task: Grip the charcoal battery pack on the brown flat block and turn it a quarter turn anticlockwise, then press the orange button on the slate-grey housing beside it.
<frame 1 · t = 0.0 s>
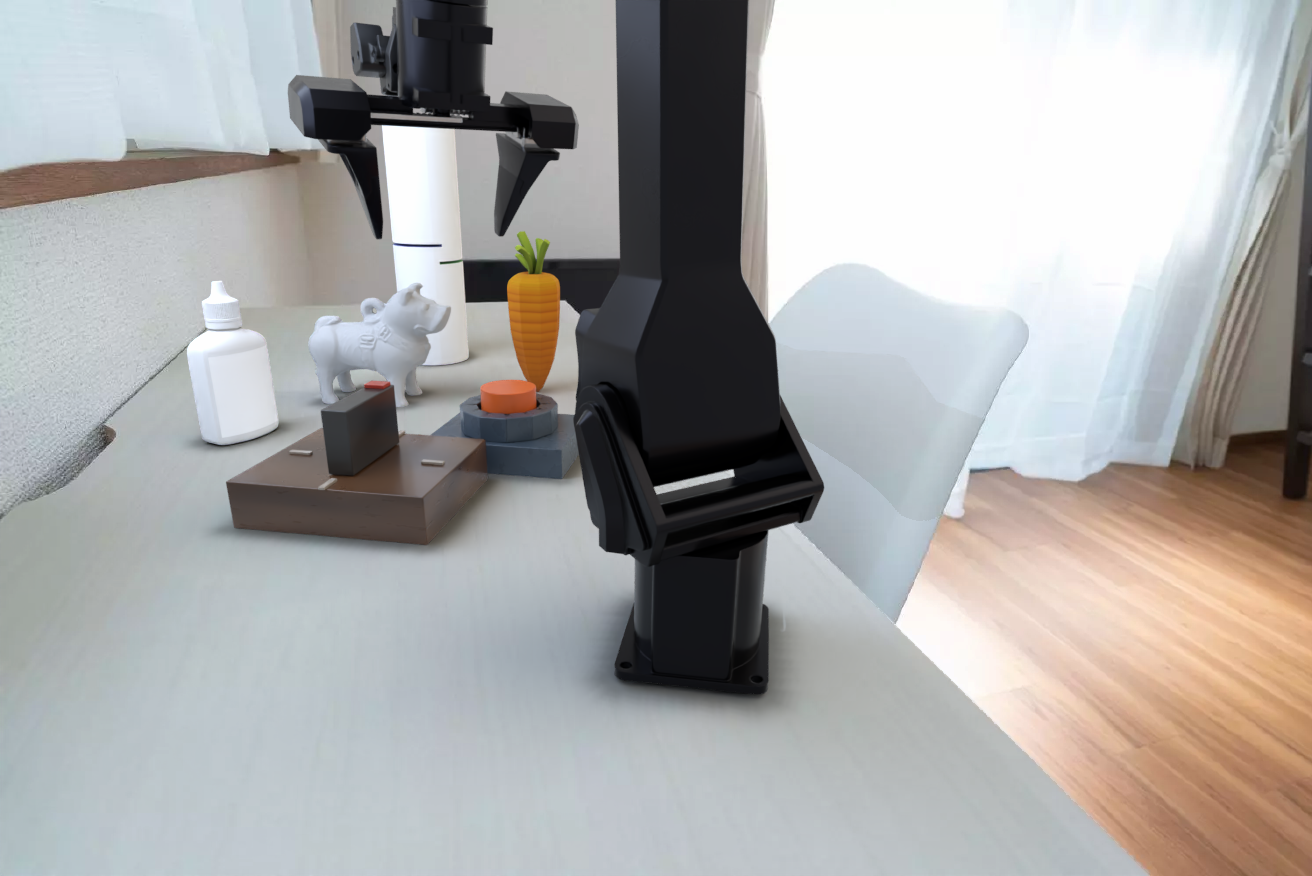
hand: (440, 236, 57), 15 cm above the table, tool pointing down, fingers open, 9 cm apart
button box: (511, 454, 57), on the table
cylindrical container: (436, 359, 86), on the table
dog figurine: (386, 399, 70), on the table
eye dropper bottle: (243, 437, 60), on the table
charcoal battery pack: (362, 425, 47), point 5 cm above the table, hinge at 0.0°
brown flat block: (371, 502, 49), on the table
start button: (508, 398, 56), point 4 cm above the table, slide at 0.1 cm
carrot: (537, 393, 73), on the table
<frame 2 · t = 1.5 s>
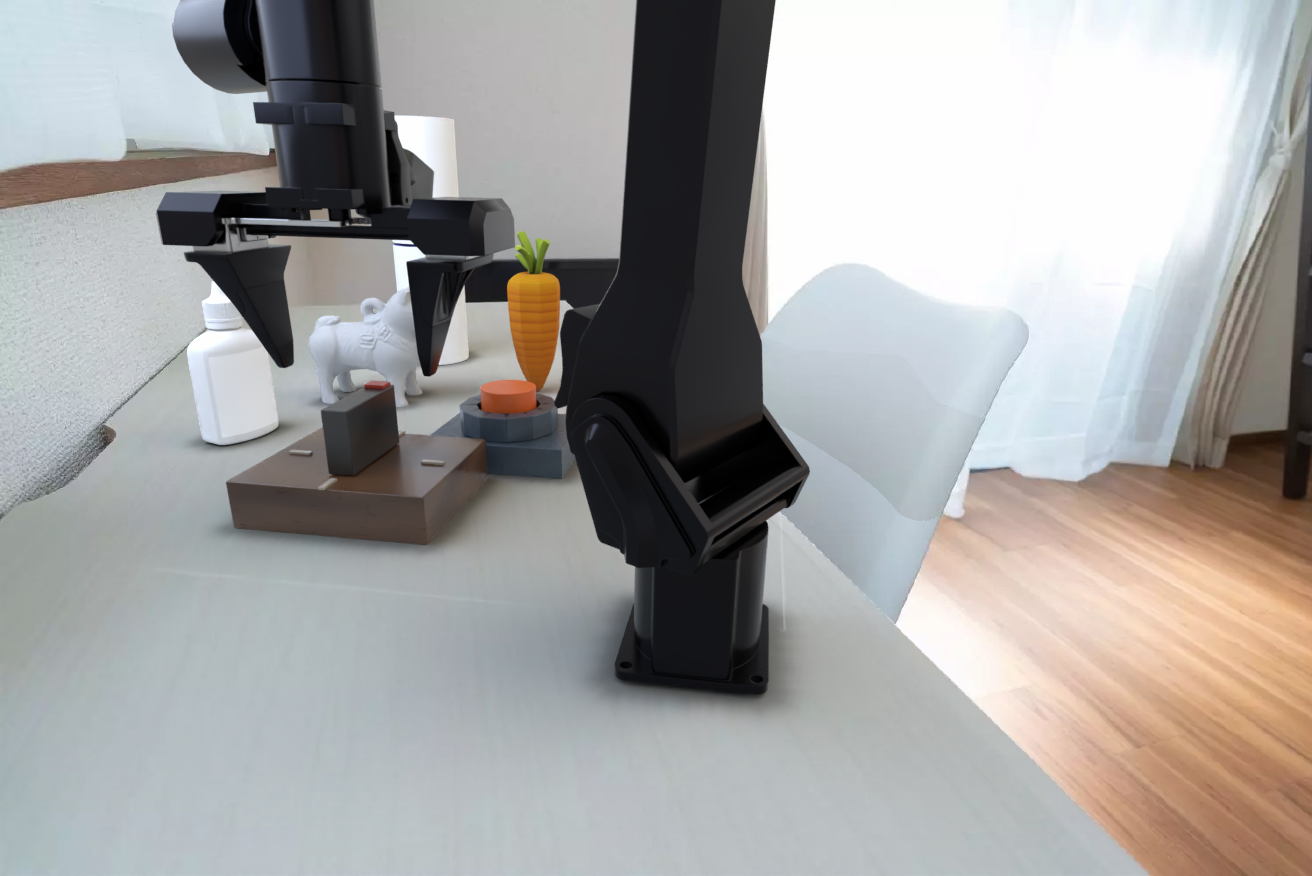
hand: (357, 370, 46), 9 cm above the table, tool pointing down, fingers open, 9 cm apart
nothing on the table moved.
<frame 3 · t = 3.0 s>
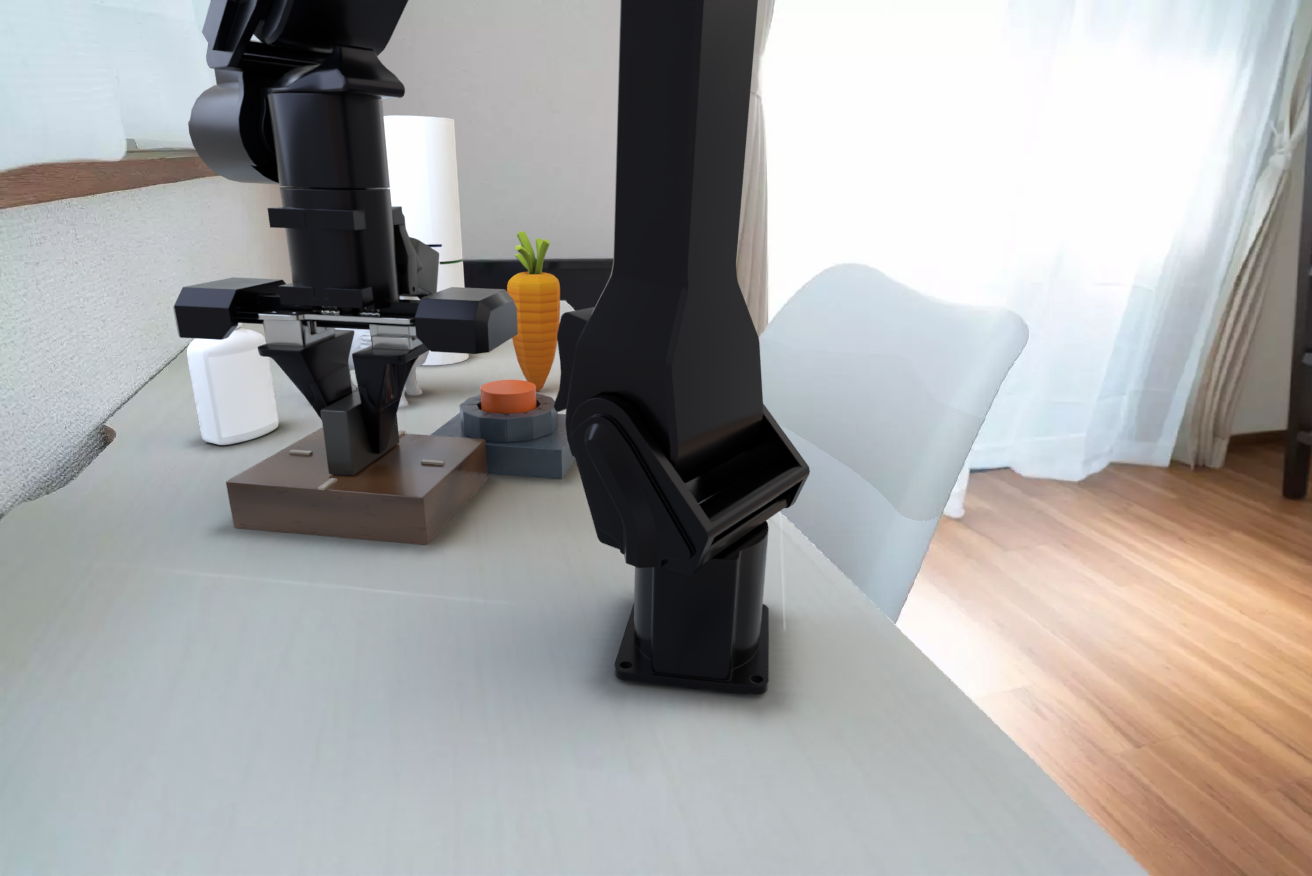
hand: (365, 450, 47), 4 cm above the table, tool pointing down, fingers closed on charcoal battery pack, 2 cm apart
charcoal battery pack: (362, 425, 47), point 5 cm above the table, hinge at 0.0°, touching gripper
everything else where it was.
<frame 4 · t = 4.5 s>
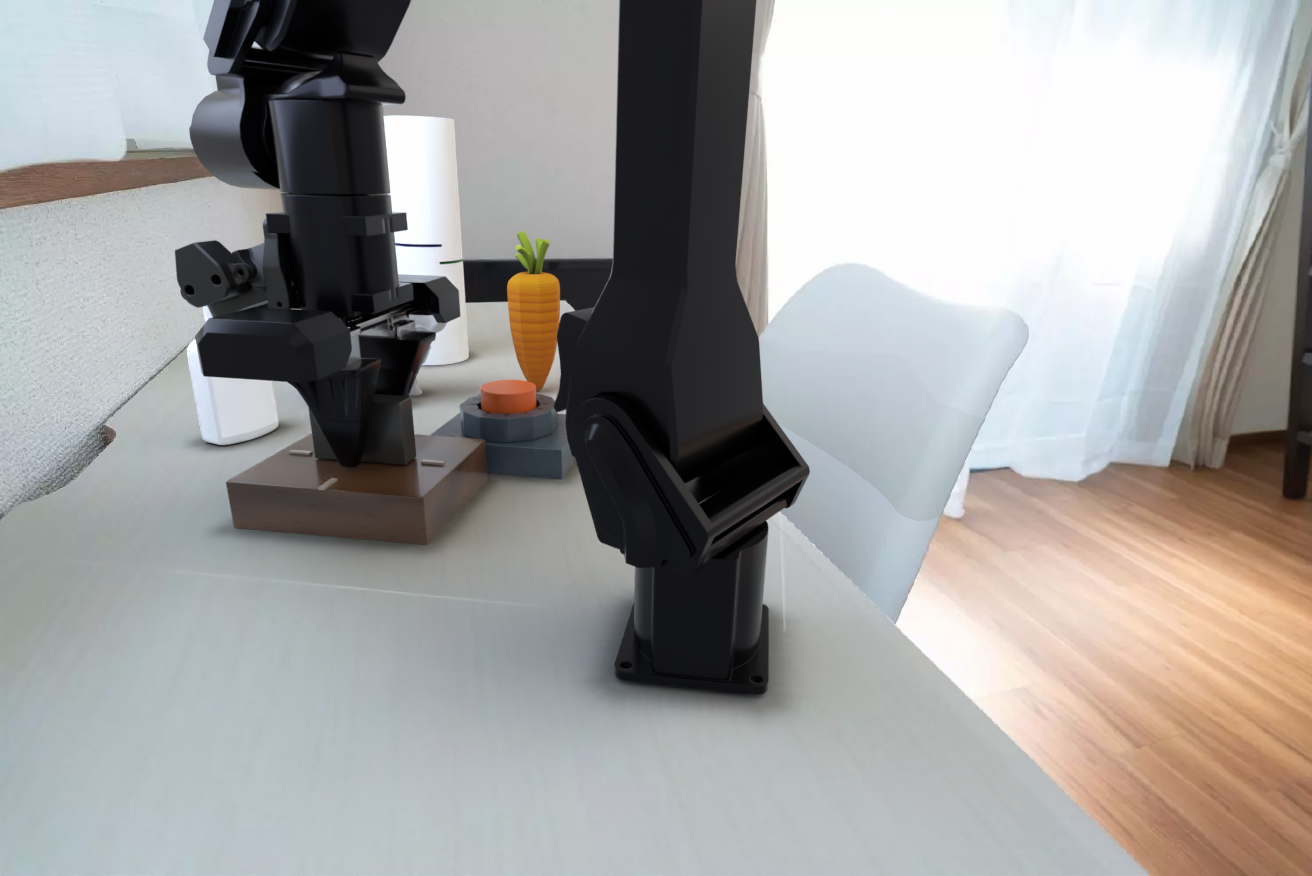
hand: (366, 455, 47), 3 cm above the table, tool pointing down, fingers open, 3 cm apart
charcoal battery pack: (362, 425, 47), point 5 cm above the table, hinge at 89.4°
everything else where it was.
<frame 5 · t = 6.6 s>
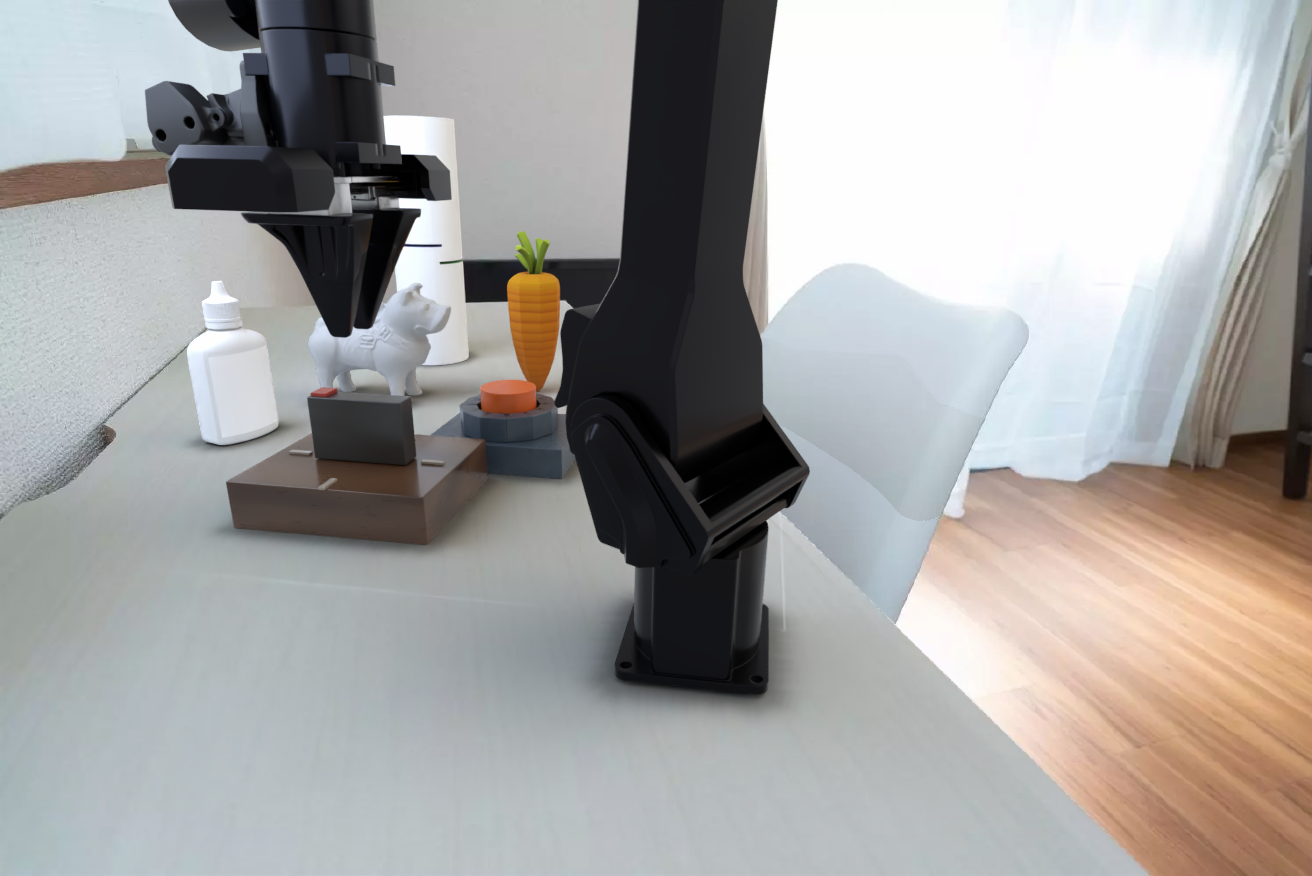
hand: (352, 332, 45), 11 cm above the table, tool pointing down, fingers closed
nothing on the table moved.
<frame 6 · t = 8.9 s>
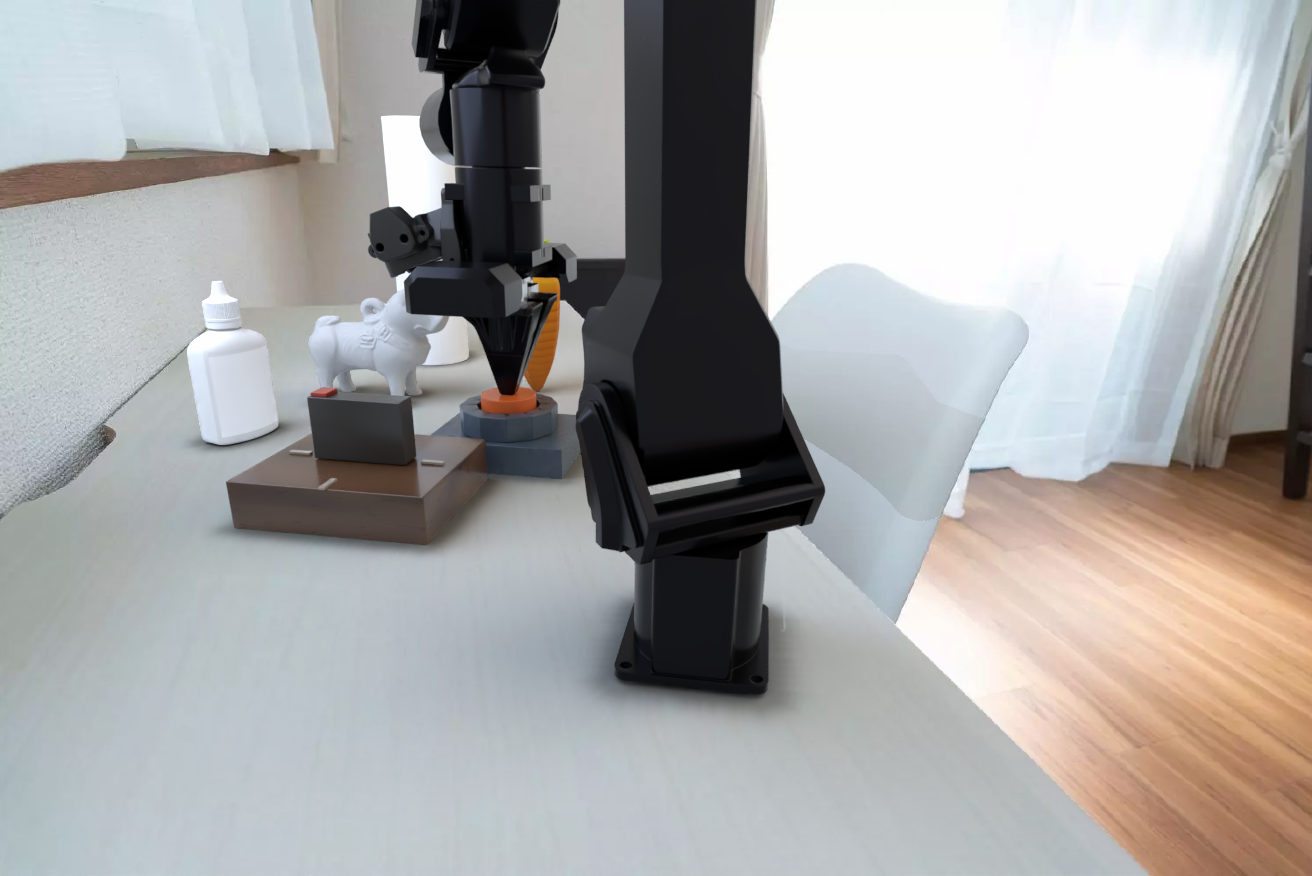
hand: (508, 393, 56), 5 cm above the table, tool pointing down, fingers closed, pressing on start button
start button: (509, 405, 56), point 4 cm above the table, slide at -0.5 cm, touching gripper
everything else where it was.
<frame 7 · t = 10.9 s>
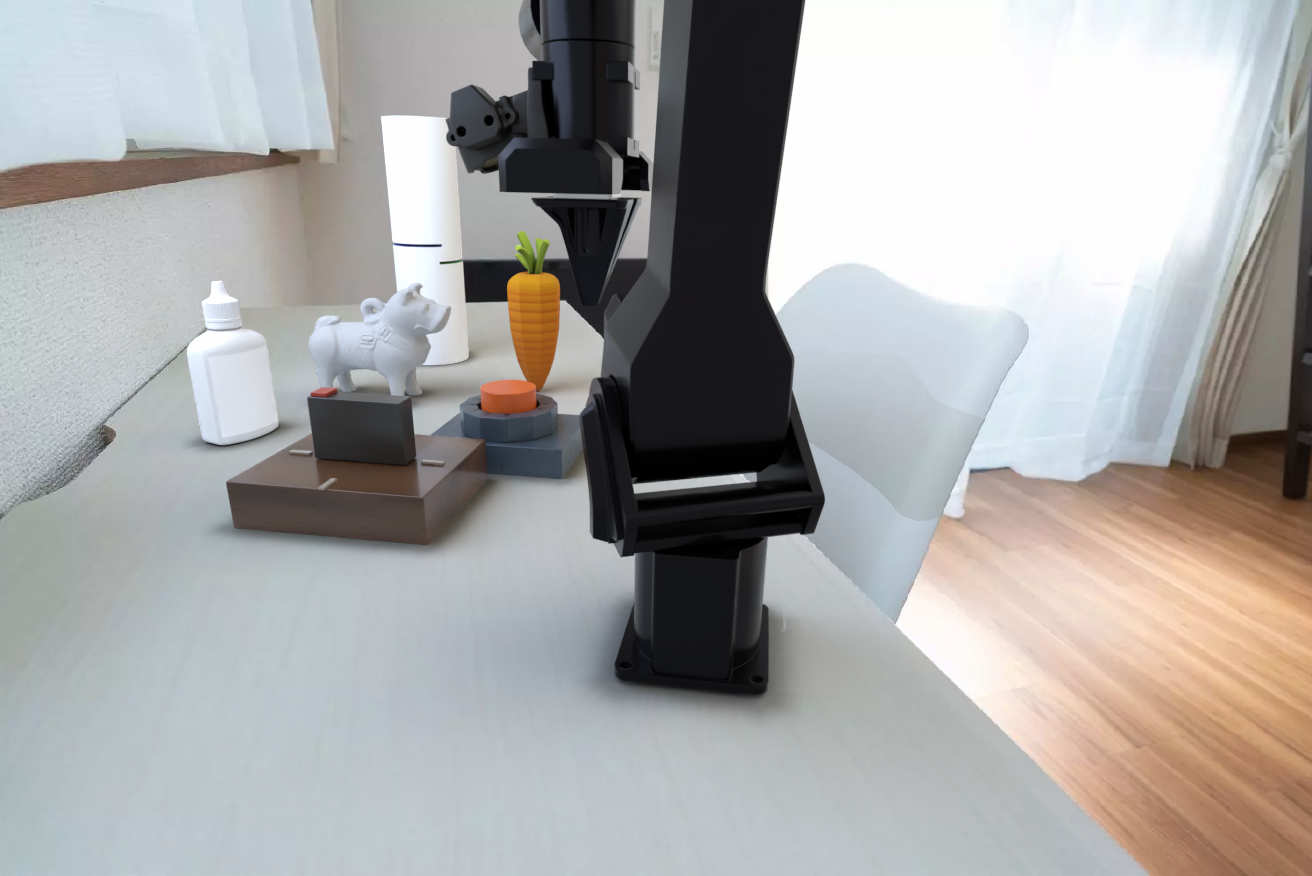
hand: (590, 305, 51), 12 cm above the table, tool pointing down, fingers closed
start button: (508, 398, 56), point 4 cm above the table, slide at 0.1 cm
everything else where it was.
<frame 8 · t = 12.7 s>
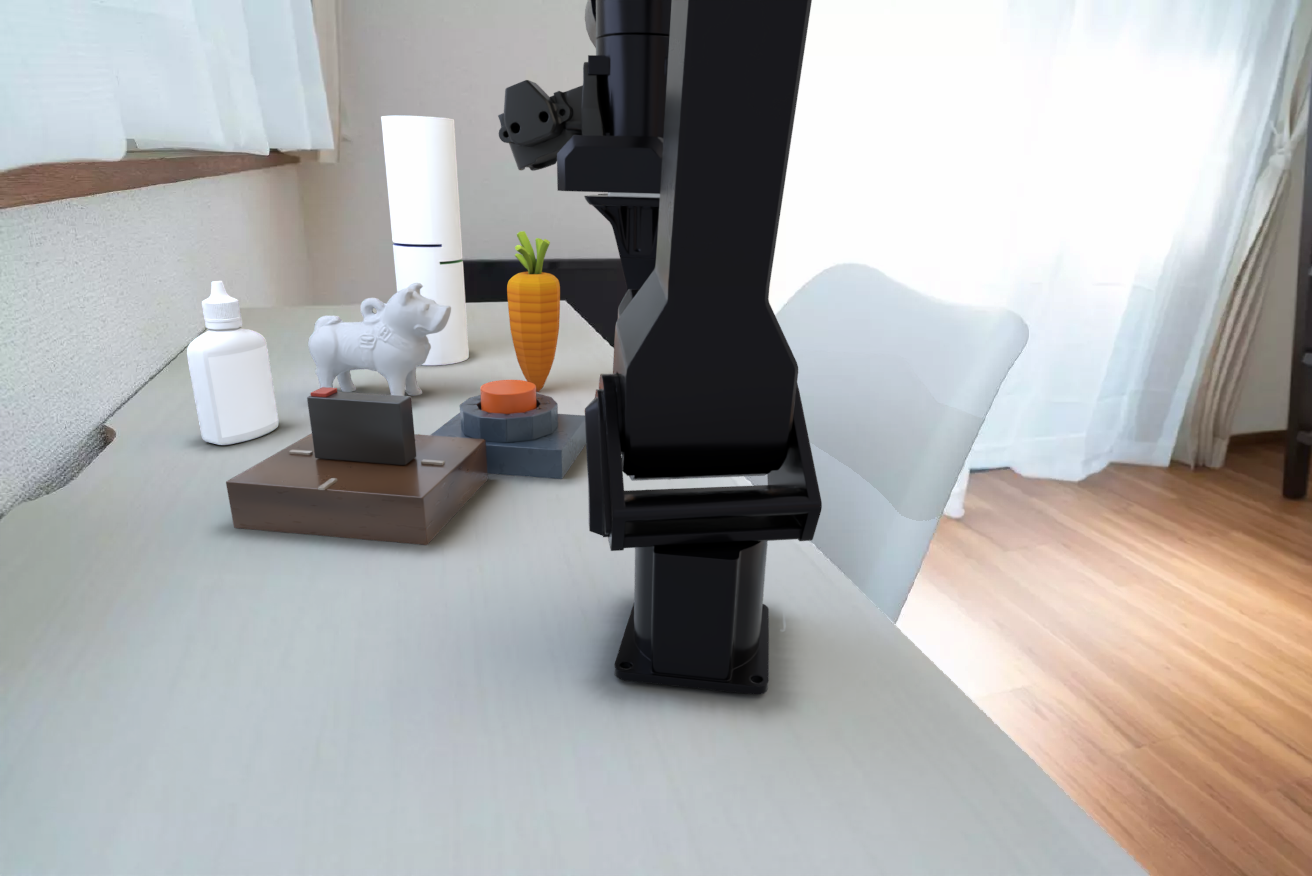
hand: (639, 306, 50), 12 cm above the table, tool pointing down, fingers closed
nothing on the table moved.
at the end: charcoal battery pack at +89° (first picture: +0°); start button pushed in 1.1 cm at the most during the clip, back to where it started at the end; start button slide at 0.1 cm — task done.
